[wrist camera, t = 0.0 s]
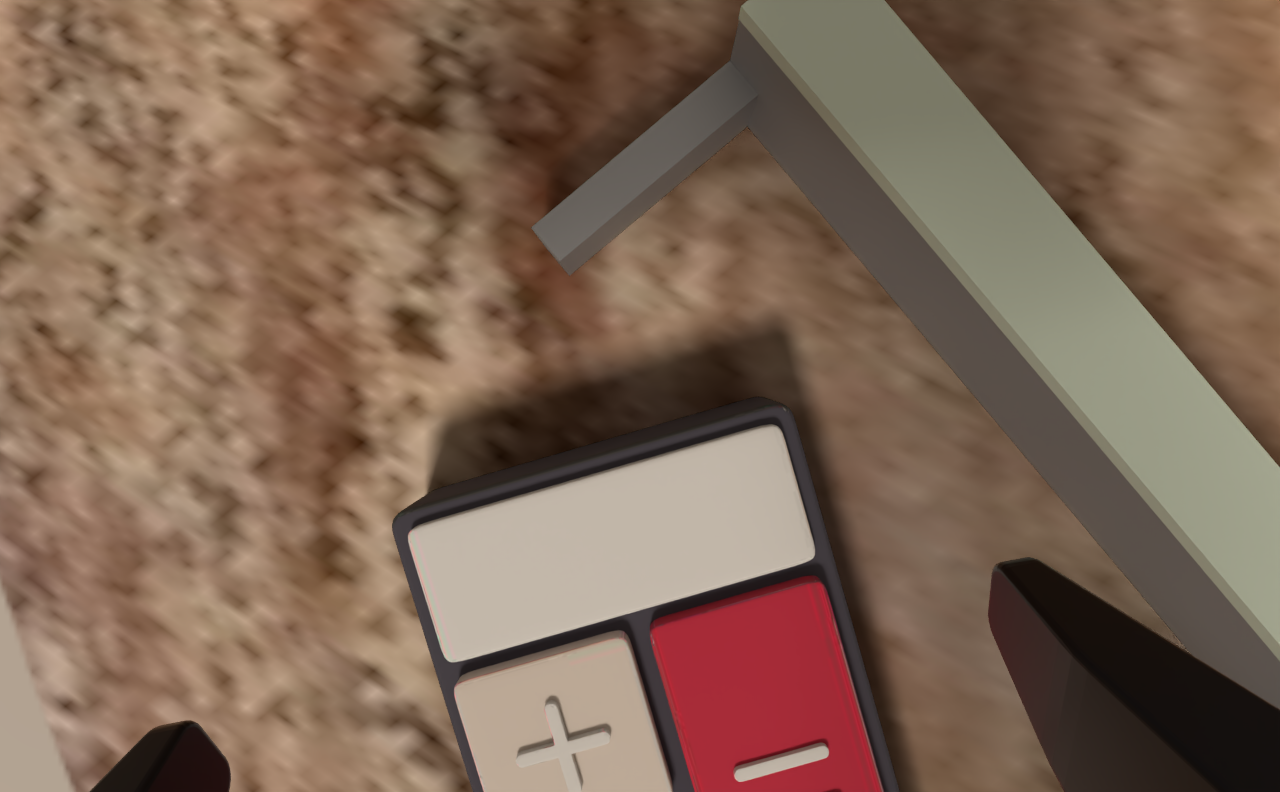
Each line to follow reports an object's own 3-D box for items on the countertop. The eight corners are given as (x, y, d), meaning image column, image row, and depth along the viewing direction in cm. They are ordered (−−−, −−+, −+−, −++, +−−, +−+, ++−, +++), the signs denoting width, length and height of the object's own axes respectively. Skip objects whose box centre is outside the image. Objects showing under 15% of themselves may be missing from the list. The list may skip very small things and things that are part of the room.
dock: (1349, 708, 23) (1564, 804, 18) (1100, 911, 23) (1237, 1069, 18) (786, 41, 24) (828, -67, 18) (544, 245, 24) (511, 199, 18)
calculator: (545, 1068, 20) (375, 521, 20) (562, 945, 25) (423, 492, 24) (952, 956, 20) (796, 400, 19) (898, 851, 25) (768, 392, 24)
